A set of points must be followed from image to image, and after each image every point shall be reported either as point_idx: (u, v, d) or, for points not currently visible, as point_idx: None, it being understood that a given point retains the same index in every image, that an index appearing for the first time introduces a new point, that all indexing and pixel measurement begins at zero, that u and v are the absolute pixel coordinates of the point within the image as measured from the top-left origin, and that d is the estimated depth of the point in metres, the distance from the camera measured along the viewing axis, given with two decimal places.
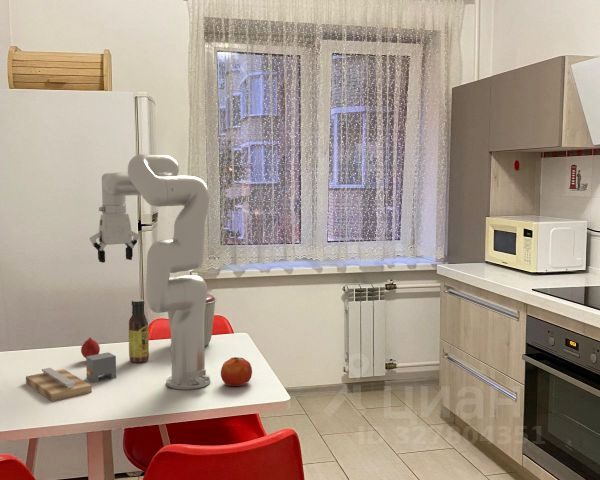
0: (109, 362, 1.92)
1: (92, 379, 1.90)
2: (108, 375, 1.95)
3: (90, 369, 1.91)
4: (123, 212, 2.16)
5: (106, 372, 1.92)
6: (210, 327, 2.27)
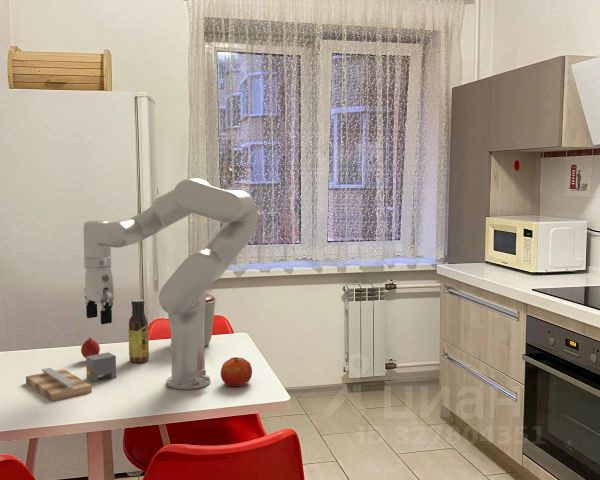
0: (109, 362, 1.92)
1: (92, 379, 1.90)
2: (108, 375, 1.95)
3: (90, 369, 1.91)
4: None
5: (106, 372, 1.92)
6: (210, 327, 2.27)
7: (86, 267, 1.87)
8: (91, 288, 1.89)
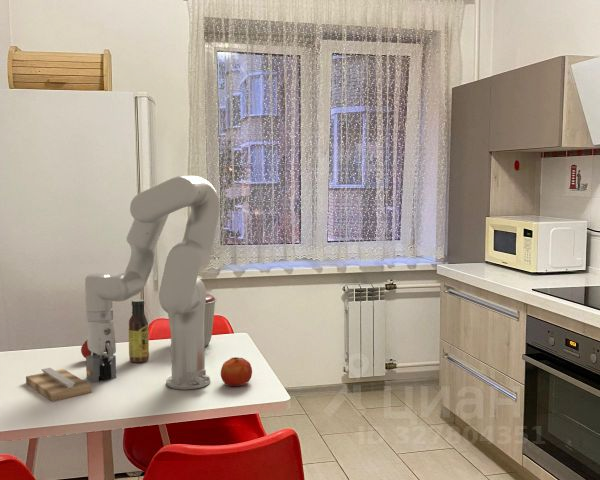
0: None
1: (92, 379, 1.90)
2: None
3: (90, 369, 1.91)
4: None
5: None
6: (210, 327, 2.27)
7: (88, 320, 1.89)
8: (93, 341, 1.90)
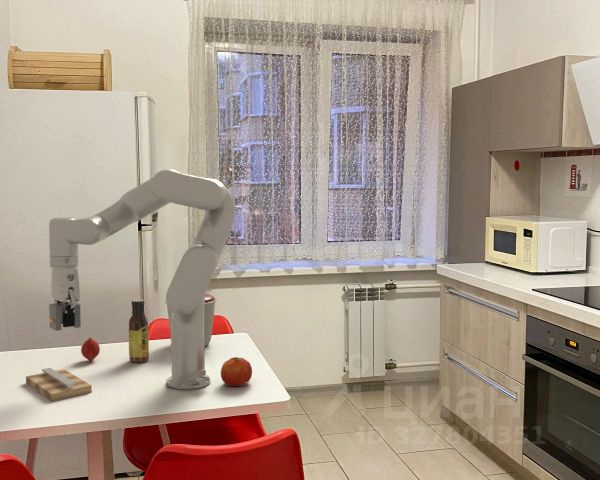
0: None
1: (54, 327, 1.82)
2: None
3: (53, 317, 1.82)
4: None
5: None
6: (210, 327, 2.27)
7: (51, 265, 1.81)
8: (56, 287, 1.82)
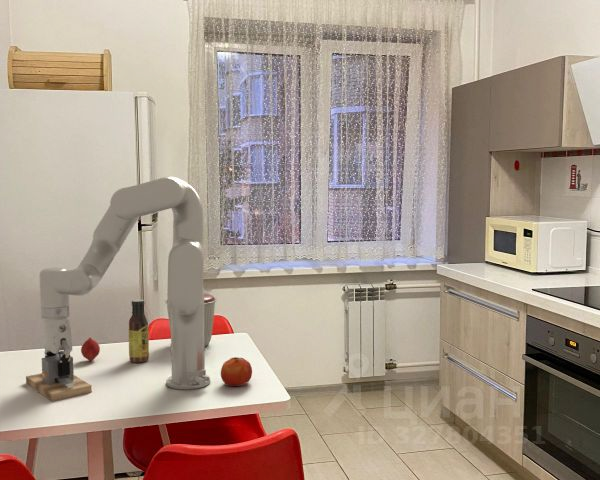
0: None
1: (47, 382, 1.81)
2: None
3: (45, 371, 1.82)
4: None
5: None
6: (210, 327, 2.27)
7: (42, 317, 1.80)
8: (48, 338, 1.81)
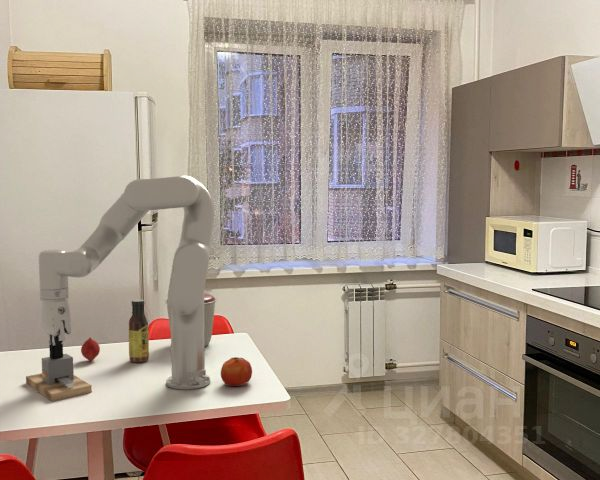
0: (66, 364, 1.83)
1: (47, 382, 1.81)
2: None
3: (45, 371, 1.82)
4: None
5: (62, 374, 1.83)
6: (210, 327, 2.27)
7: (41, 299, 1.79)
8: (47, 320, 1.81)
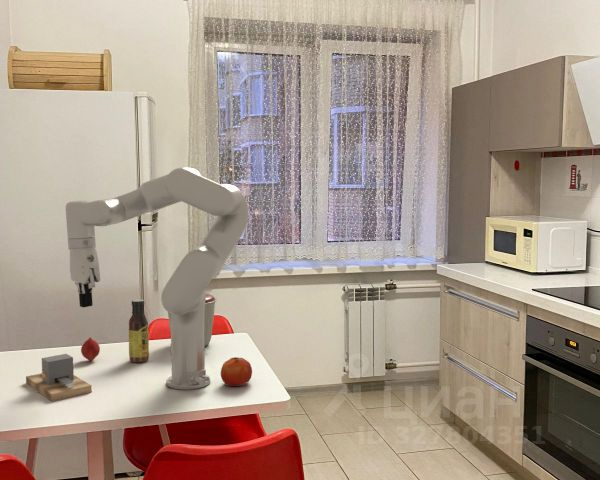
0: (66, 364, 1.83)
1: (47, 382, 1.81)
2: None
3: (45, 371, 1.82)
4: None
5: (62, 374, 1.83)
6: (210, 327, 2.27)
7: (70, 248, 1.85)
8: (76, 269, 1.86)
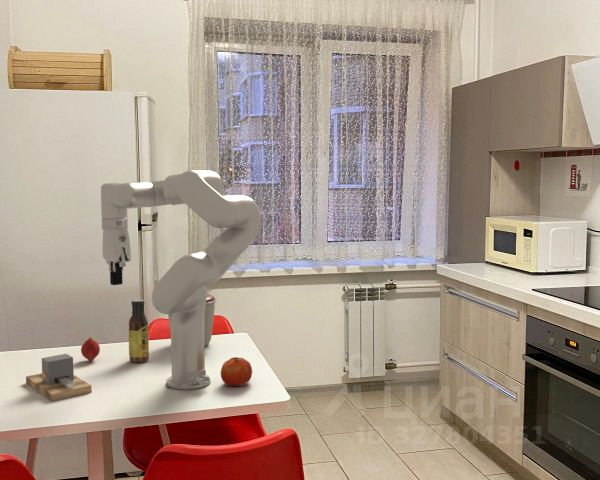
0: (66, 364, 1.83)
1: (47, 382, 1.81)
2: None
3: (45, 371, 1.82)
4: None
5: (62, 374, 1.83)
6: (210, 327, 2.27)
7: (104, 228, 1.93)
8: (109, 248, 1.94)
